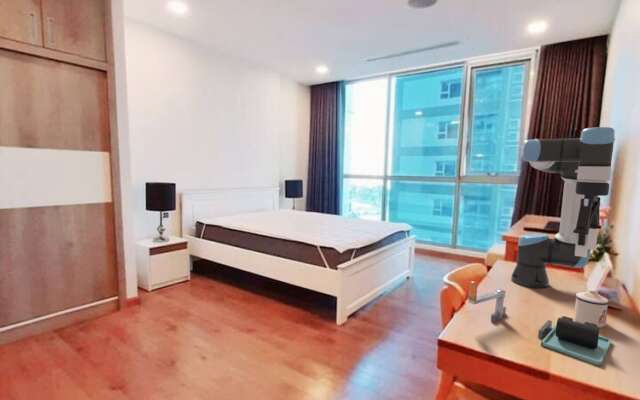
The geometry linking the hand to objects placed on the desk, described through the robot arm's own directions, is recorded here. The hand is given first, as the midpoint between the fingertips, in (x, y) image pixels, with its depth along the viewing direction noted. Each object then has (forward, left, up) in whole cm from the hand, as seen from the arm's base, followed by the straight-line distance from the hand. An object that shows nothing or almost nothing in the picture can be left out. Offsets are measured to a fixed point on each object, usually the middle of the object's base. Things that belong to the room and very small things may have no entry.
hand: (585, 252), depth 99 cm
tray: (0, 0, -29) cm, 29 cm away
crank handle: (+6, -24, -21) cm, 33 cm away
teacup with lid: (-24, -1, -29) cm, 38 cm away
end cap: (0, 0, -28) cm, 29 cm away
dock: (-1, -16, -29) cm, 33 cm away
